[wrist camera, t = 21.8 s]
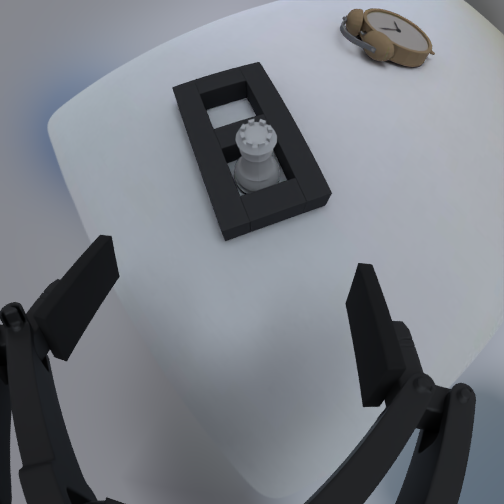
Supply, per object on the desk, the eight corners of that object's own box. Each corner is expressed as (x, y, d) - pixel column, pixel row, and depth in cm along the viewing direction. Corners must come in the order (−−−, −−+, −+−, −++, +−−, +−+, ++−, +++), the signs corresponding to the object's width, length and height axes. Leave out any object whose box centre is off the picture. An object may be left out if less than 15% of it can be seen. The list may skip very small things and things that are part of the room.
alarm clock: (446, 56, 31) (374, 42, 28) (431, 76, 36) (358, 68, 33) (405, 12, 34) (331, -3, 30) (394, 32, 38) (321, 21, 35)
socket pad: (225, 241, 29) (221, 231, 26) (177, 103, 33) (172, 87, 30) (325, 205, 29) (332, 193, 26) (259, 78, 33) (259, 61, 30)
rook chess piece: (283, 194, 30) (290, 152, 22) (237, 200, 30) (230, 159, 22) (275, 155, 31) (279, 106, 23) (232, 160, 31) (224, 113, 23)
